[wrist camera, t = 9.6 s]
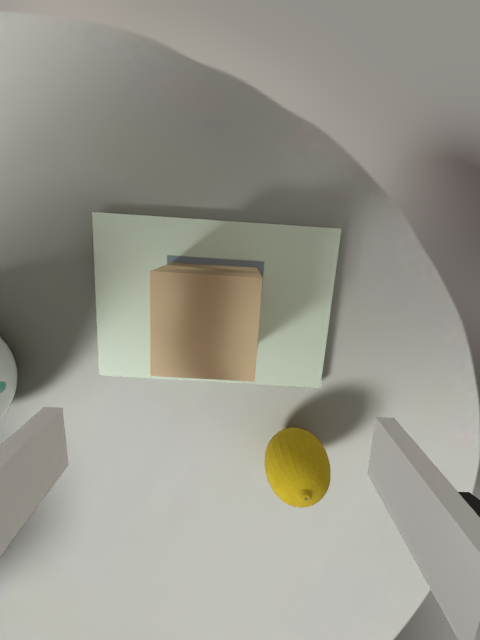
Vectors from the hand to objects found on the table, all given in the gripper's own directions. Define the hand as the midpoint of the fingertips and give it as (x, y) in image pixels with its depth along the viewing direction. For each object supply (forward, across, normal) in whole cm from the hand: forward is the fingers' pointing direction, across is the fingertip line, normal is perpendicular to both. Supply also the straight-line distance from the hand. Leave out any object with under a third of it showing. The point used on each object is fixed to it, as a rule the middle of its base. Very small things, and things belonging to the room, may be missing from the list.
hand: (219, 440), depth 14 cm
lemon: (+17, +6, -11) cm, 21 cm away
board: (+17, -1, +3) cm, 17 cm away
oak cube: (+15, -2, +2) cm, 16 cm away
